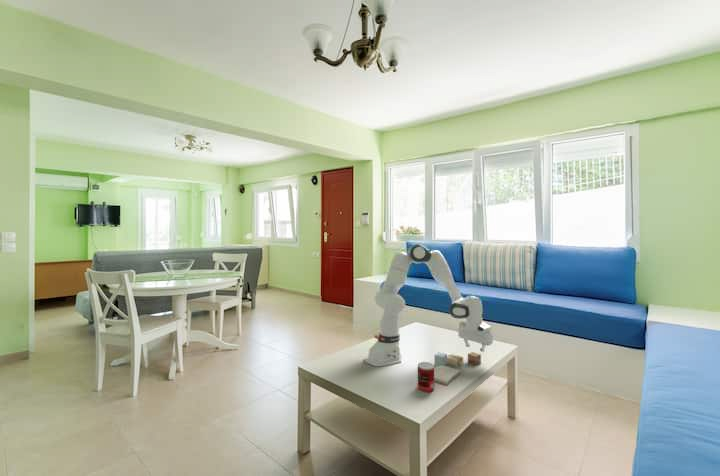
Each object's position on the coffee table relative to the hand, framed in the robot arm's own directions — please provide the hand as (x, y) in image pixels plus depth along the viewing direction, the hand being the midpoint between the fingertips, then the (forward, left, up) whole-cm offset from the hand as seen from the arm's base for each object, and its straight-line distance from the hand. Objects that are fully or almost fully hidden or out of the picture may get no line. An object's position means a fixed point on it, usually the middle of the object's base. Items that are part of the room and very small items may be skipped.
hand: (474, 348), depth 181 cm
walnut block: (-1, 0, -8) cm, 8 cm away
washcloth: (-29, -1, -8) cm, 30 cm away
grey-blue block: (-19, +9, -8) cm, 22 cm away
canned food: (-46, -5, -8) cm, 47 cm away
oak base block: (-11, +6, -8) cm, 15 cm away
